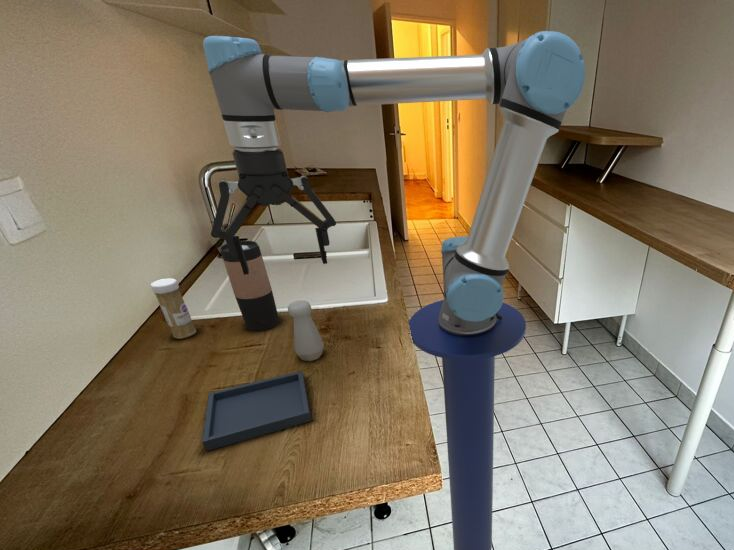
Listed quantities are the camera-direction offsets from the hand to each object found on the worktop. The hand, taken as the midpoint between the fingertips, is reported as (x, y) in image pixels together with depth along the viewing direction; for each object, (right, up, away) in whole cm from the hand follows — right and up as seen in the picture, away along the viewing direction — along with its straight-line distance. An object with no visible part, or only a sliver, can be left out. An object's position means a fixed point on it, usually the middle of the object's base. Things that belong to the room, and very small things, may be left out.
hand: (286, 266), depth 80 cm
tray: (-2, -27, -5) cm, 28 cm away
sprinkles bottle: (-33, -14, +16) cm, 39 cm away
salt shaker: (0, -18, +11) cm, 21 cm away
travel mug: (-18, -11, +22) cm, 30 cm away
